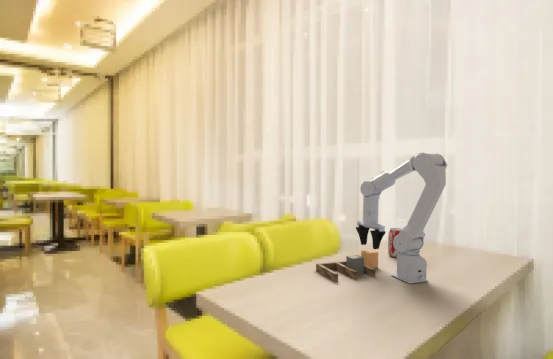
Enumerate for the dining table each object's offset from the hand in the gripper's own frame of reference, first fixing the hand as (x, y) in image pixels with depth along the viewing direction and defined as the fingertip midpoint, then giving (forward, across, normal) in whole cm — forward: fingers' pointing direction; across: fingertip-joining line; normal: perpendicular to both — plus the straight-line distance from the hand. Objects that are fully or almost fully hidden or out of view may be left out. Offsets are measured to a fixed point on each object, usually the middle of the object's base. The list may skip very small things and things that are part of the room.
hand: (369, 246), depth 129 cm
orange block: (+8, 0, 0) cm, 8 cm away
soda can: (+8, -10, +22) cm, 25 cm away
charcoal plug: (+8, +5, -10) cm, 14 cm away
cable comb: (+8, +5, -14) cm, 17 cm away
